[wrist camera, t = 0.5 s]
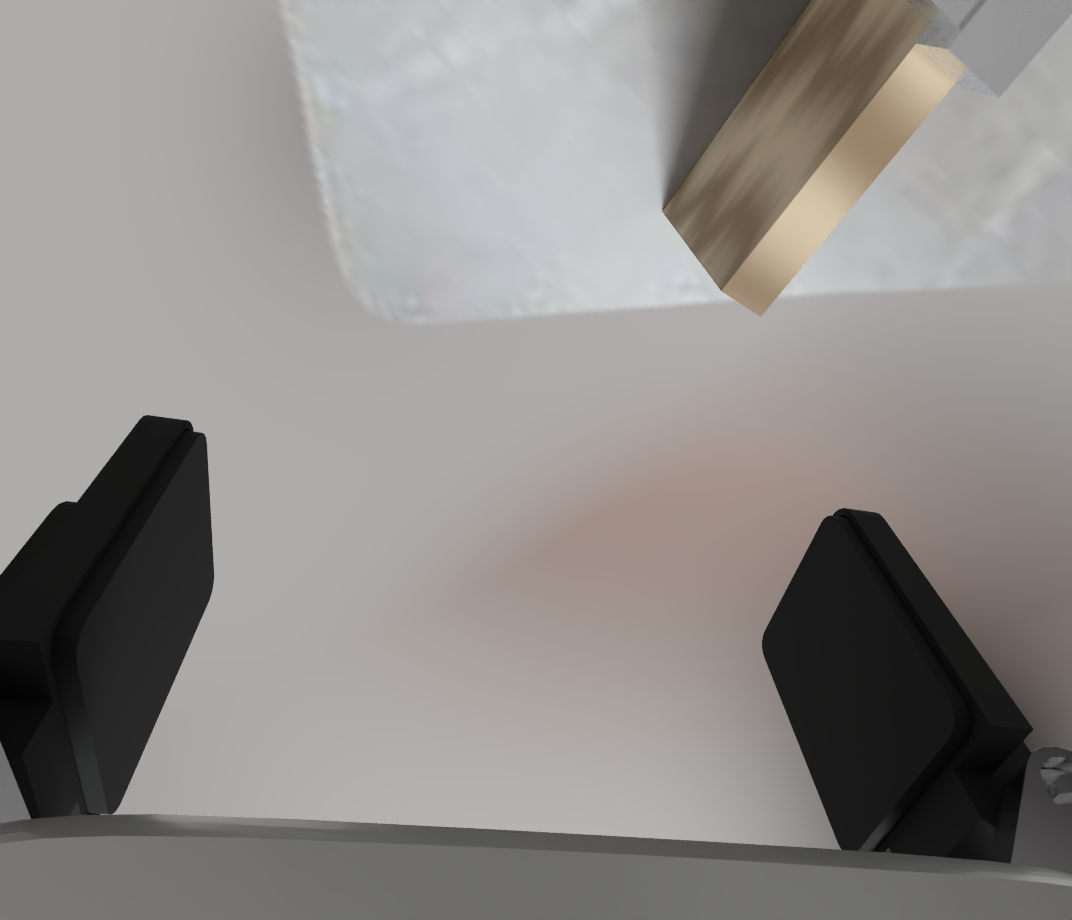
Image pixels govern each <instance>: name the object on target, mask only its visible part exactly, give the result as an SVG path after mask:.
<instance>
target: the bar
mask: <svg viewBox="0 0 1072 920" xmlns="http://www.w3.org/2000/svg"><path fill="white" fill-rule="evenodd" d="M906 1H907V2H908V3H909V4H910V5H911V6H912V7H913V8H914V9H916V10H917V11H918V12H919V13H920V14H921V15H922V16H923V17H924V18H925V19H926V20H927V21H928V22H929V23H930V24H929V25H928V27H927V28H926V29H925V30H924V32H923V33H922V34H921V36H920V37H919V38H918V39H917V41H916V42H915V43H914V44H915V45H917V46H918V47H919V48H920V49H921V50H922V51H923V52H924V53H925V54H926V55H927V56H929V57H930V58H931V59H932V60H933V61H934V62H935V63H936V64H937V65H938V66H939V67H941V68H942V69H943V70H944V71H945V72H946V73H947V74H948V75H949V76H950V77H951V78H953V79H954V80H955V81H956V82H957V83H958V84H959V85H960V86H961V87H962V88H963V89H968V90H972V91H976V92H980V93H984V94H988V95H992V96H996V97H1000V96H1001V95H1002V93H1003V92H1004V91H1005V90H1006V89H1007V88H1008V86H1009V85H1010V84H1011V83H1012V82H1013V81H1014V80H1015V78H1016V77H1017V76H1018V75H1019V74H1020V73H1021V72H1022V70H1023V69H1024V68H1025V67H1026V66H1027V65H1028V63H1029V62H1030V61H1031V60H1032V59H1033V58H1034V57H1035V55H1036V54H1037V53H1038V52H1039V51H1040V50H1041V48H1042V47H1043V46H1044V45H1045V44H1046V43H1047V42H1048V40H1049V39H1050V38H1051V37H1052V36H1053V35H1054V33H1055V32H1056V31H1057V30H1058V29H1059V28H1060V27H1061V25H1062V24H1063V23H1064V22H1065V21H1066V20H1067V18H1068V17H1069V16H1070V15H1071V14H1072V0H906Z"/></svg>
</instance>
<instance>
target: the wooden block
mask: <svg viewBox="0 0 1072 920" xmlns="http://www.w3.org/2000/svg"><path fill="white" fill-rule="evenodd" d="M929 24H930V23H929V22H928V21H927V20H926V19H925V18H924V17H923V16H922V15H921V14H920V13H919V12H918V11H917V10H916V9H914V8H913V7H912V6H911V5H910V4H909V3H908V2H907V1H906V0H811V1H810V3H809V4H808V5H807V7H806V8H805V10H804V11H803V13H802V14H801V15H800V17H799V18H798V20H797V21H796V22H795V24H794V25H793V27H792V28H791V30H790V31H789V32H788V34H787V35H786V37H785V38H784V39H783V41H782V42H781V44H780V45H779V47H778V48H777V49H776V51H775V52H774V54H773V55H772V56H771V58H770V59H769V61H768V62H767V64H766V65H765V66H764V68H763V69H762V71H761V72H760V74H759V75H758V76H757V78H756V79H755V81H754V82H753V83H752V85H751V86H750V88H749V89H748V91H747V92H746V93H745V95H744V96H743V98H742V99H741V100H740V102H739V103H738V105H737V106H736V108H735V109H734V110H733V112H732V113H731V115H730V116H729V117H728V119H727V120H726V122H725V123H724V125H723V126H722V127H721V129H720V130H719V132H718V133H717V135H716V136H715V137H714V139H713V140H712V142H711V143H710V144H709V146H708V147H707V149H706V150H705V152H704V153H703V154H702V156H701V157H700V159H699V160H698V161H697V163H696V164H695V166H694V167H693V169H692V170H691V171H690V173H689V174H688V176H687V177H686V178H685V180H684V181H683V183H682V184H681V186H680V187H679V188H678V190H677V191H676V193H675V194H674V196H673V197H672V198H671V200H670V201H669V203H668V204H667V205H666V207H665V208H664V210H663V211H662V212H663V213H664V214H665V216H666V217H667V219H668V220H669V221H670V223H671V224H672V225H673V227H674V228H675V229H676V231H677V232H678V233H679V235H680V236H681V237H682V239H683V240H684V241H685V243H686V244H687V245H688V247H689V248H690V249H691V251H692V252H693V254H694V255H695V256H696V258H697V259H698V260H699V262H700V263H701V264H702V266H703V267H704V268H705V270H706V271H707V272H708V274H709V275H710V276H711V278H712V279H713V280H714V282H715V283H716V284H717V286H718V287H719V288H720V290H721V291H722V292H724V293H725V294H727V295H728V296H730V297H731V298H733V299H734V300H736V301H737V302H739V303H740V304H742V305H743V306H745V307H747V308H748V309H750V310H751V311H753V312H754V313H756V314H757V315H759V316H760V317H761V316H762V315H763V313H764V312H765V311H766V310H767V309H768V307H769V306H770V305H771V304H772V302H773V301H774V300H775V299H776V298H777V297H778V295H779V294H780V293H781V292H782V291H783V289H784V288H785V287H786V286H787V285H788V283H789V282H790V281H791V280H792V279H793V277H794V276H795V275H796V274H797V272H798V271H799V270H800V269H801V268H802V266H803V265H804V264H805V263H806V262H807V260H808V259H809V258H810V257H811V256H812V254H813V253H814V252H815V251H816V250H817V248H818V247H819V246H820V245H821V244H822V242H823V241H824V240H825V239H826V238H827V236H828V235H829V234H830V233H831V232H832V230H833V229H834V228H835V227H836V226H837V224H838V223H839V222H840V221H841V220H842V218H843V217H844V216H845V215H846V214H847V212H848V211H849V210H850V209H851V208H852V206H853V205H854V204H855V203H856V202H857V200H858V199H859V198H860V197H861V196H862V194H863V193H864V192H865V191H866V190H867V188H868V187H869V186H870V185H871V184H872V182H873V181H874V180H875V179H876V178H877V176H878V175H879V174H880V173H881V172H882V170H883V169H884V168H885V167H886V166H887V164H888V163H889V162H890V161H891V160H892V158H893V157H894V156H895V155H896V154H897V152H898V151H899V150H900V149H901V148H902V146H903V145H904V144H905V143H906V142H907V140H908V139H909V138H910V137H911V136H912V134H913V133H914V132H915V131H916V129H917V128H918V127H919V126H920V125H921V123H922V122H923V121H924V120H925V119H926V117H927V116H928V115H929V114H930V113H931V111H932V110H933V109H934V108H935V107H936V105H937V104H938V103H939V102H940V101H941V99H942V98H943V97H944V96H945V95H946V93H947V92H948V91H949V90H950V89H951V87H952V86H953V85H954V84H955V83H956V81H955V80H954V79H953V78H951V77H950V76H949V75H948V74H947V73H946V72H945V71H944V70H943V69H942V68H941V67H939V66H938V65H937V64H936V63H935V62H934V61H933V60H932V59H931V58H930V57H929V56H927V55H926V54H925V53H924V52H923V51H922V50H921V49H920V48H919V47H918V46H917V45H915V44H914V43H915V42H916V41H917V39H918V38H919V37H920V36H921V34H922V33H923V32H924V30H925V29H926V28H927V27H928V25H929Z"/></svg>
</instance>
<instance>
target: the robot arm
mask: <svg viewBox="0 0 1072 920" xmlns="http://www.w3.org/2000/svg"><path fill="white" fill-rule="evenodd" d="M213 582H214V567H213V547H212V529H211V513H210V493H209V475H208V458H207V442H206V437H205V434H203V433H199V432H193V427H192V424H191V423H190V422H189V421H187V420H179V419H172V418H164V417H157V416H150V415H146V416H143V417H142V418H141V419H140V420H139V421H138V423H137V424H136V425H135V427H134V428H133V429H132V431H131V432H130V433H129V435H128V436H127V437H126V438H125V440H124V441H123V442H122V444H121V445H120V446H119V448H118V449H117V451H116V452H115V453H114V454H113V456H112V457H111V458H110V460H109V461H108V462H107V464H106V465H105V466H104V467H103V469H102V470H101V471H100V473H99V474H98V475H97V477H96V478H95V479H94V481H93V482H92V483H91V485H90V486H89V487H88V489H87V490H86V491H85V493H84V494H83V495H82V496H81V498H80V499H79V500H78V502H77V503H76V502H68V501H66V502H63V503H60V504H58V505H57V506H56V507H55V508H54V509H53V510H52V511H51V512H50V513H49V515H48V516H47V517H46V519H45V520H44V521H43V522H42V524H41V525H40V526H39V527H38V529H37V530H36V531H35V532H34V534H33V535H32V536H31V538H30V539H29V540H28V541H27V542H26V544H25V545H24V546H23V547H22V549H21V550H20V551H19V552H18V554H17V555H16V556H15V558H14V559H13V560H12V561H11V563H10V564H9V565H8V566H7V568H6V569H5V570H4V571H3V573H2V574H1V575H0V920H1072V751H1070V750H1066V749H1063V748H1059V747H1041V748H1039V749H1037V750H1035V751H1033V752H1032V753H1031V752H1030V751H1029V749H1028V748H1027V746H1026V745H1025V743H1024V742H1023V740H1024V739H1025V738H1026V737H1027V736H1028V734H1030V732H1031V731H1032V730H1033V728H1032V727H1031V725H1030V724H1029V722H1028V721H1027V720H1026V718H1025V717H1024V715H1023V714H1022V713H1021V711H1020V710H1019V708H1018V707H1017V705H1016V704H1015V703H1014V701H1013V700H1012V698H1011V697H1010V696H1009V694H1008V693H1007V691H1006V690H1005V688H1004V687H1003V686H1002V684H1001V683H1000V681H999V680H998V679H997V677H996V676H995V674H994V673H993V672H992V670H991V669H990V667H989V666H988V665H987V663H986V662H985V660H984V659H983V658H982V656H981V655H980V653H979V652H978V651H977V649H976V648H975V646H974V645H973V643H972V642H971V641H970V639H969V638H968V637H967V635H966V633H965V632H964V631H963V629H962V628H961V626H960V625H959V624H958V622H957V621H956V619H955V618H954V617H953V615H952V614H951V612H950V611H949V609H948V608H947V607H946V605H945V604H944V603H943V601H942V600H941V598H940V597H939V596H938V594H937V593H936V591H935V590H934V588H933V587H932V586H931V584H930V583H929V581H928V580H927V578H926V577H925V576H924V574H923V573H922V572H921V570H920V569H919V567H918V566H917V564H916V563H915V562H914V560H913V559H912V557H911V556H910V555H909V553H908V552H907V550H906V549H905V547H904V546H903V545H902V543H901V542H900V540H899V539H898V538H897V536H896V535H895V533H894V532H893V531H892V529H891V528H890V526H889V525H888V523H887V522H886V521H885V519H884V518H883V517H882V516H881V515H880V514H878V513H875V512H868V511H860V510H853V509H846V508H843V509H839V510H838V511H836V512H835V513H834V514H833V516H828V517H826V518H825V519H824V520H823V521H822V523H821V525H820V526H819V528H818V530H817V532H816V534H815V536H814V538H813V540H812V542H811V544H810V546H809V548H808V549H807V551H806V553H805V555H804V557H803V559H802V561H801V563H800V565H799V567H798V569H797V570H796V573H795V574H794V576H793V578H792V580H791V582H790V584H789V586H788V588H787V590H786V592H785V593H784V595H783V597H782V599H781V601H780V603H779V605H778V607H777V609H776V611H775V613H774V614H773V616H772V619H771V620H770V622H769V624H768V626H767V628H766V630H765V632H764V635H763V640H762V649H763V654H764V657H765V660H766V662H767V665H768V667H769V670H770V672H771V675H772V678H773V680H774V683H775V685H776V688H777V690H778V693H779V695H780V698H781V700H782V703H783V705H784V708H785V710H786V713H787V715H788V718H789V720H790V723H791V726H792V728H793V731H794V733H795V736H796V738H797V741H798V743H799V745H800V748H801V751H802V753H803V756H804V758H805V761H806V763H807V766H808V768H809V771H810V774H811V776H812V779H813V781H814V784H815V786H816V789H817V791H818V794H819V796H820V798H821V801H822V804H823V806H824V809H825V811H826V814H827V816H828V819H829V822H830V824H831V827H832V829H833V831H834V834H835V837H836V839H837V842H838V844H839V846H840V848H841V849H842V850H833V849H819V848H802V847H787V846H771V845H755V844H739V843H723V842H706V841H689V840H670V839H654V838H636V837H620V836H601V835H584V834H565V833H548V832H530V831H513V830H495V829H494V830H493V829H474V828H456V827H435V826H417V825H397V824H395V825H394V824H378V823H358V822H339V821H319V820H318V821H317V820H299V819H273V818H272V819H271V818H244V817H216V816H215V817H214V816H187V815H158V814H145V815H143V814H141V815H100V814H113V813H114V812H115V811H116V810H117V808H118V807H119V805H120V803H121V801H122V799H123V797H124V794H125V792H126V790H127V787H128V785H129V783H130V781H131V778H132V776H133V774H134V771H135V769H136V767H137V765H138V762H139V760H140V758H141V755H142V753H143V751H144V748H145V746H146V744H147V742H148V739H149V737H150V735H151V733H152V730H153V728H154V726H155V723H156V721H157V719H158V716H159V714H160V712H161V710H162V707H163V705H164V703H165V700H166V698H167V696H168V694H169V691H170V689H171V687H172V684H173V682H174V680H175V677H176V675H177V673H178V671H179V668H180V666H181V664H182V662H183V659H184V657H185V655H186V652H187V650H188V648H189V645H190V643H191V641H192V639H193V636H194V634H195V632H196V629H197V627H198V625H199V622H200V620H201V618H202V616H203V613H204V611H205V609H206V607H207V604H208V602H209V599H210V597H211V593H212V588H213Z"/></svg>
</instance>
